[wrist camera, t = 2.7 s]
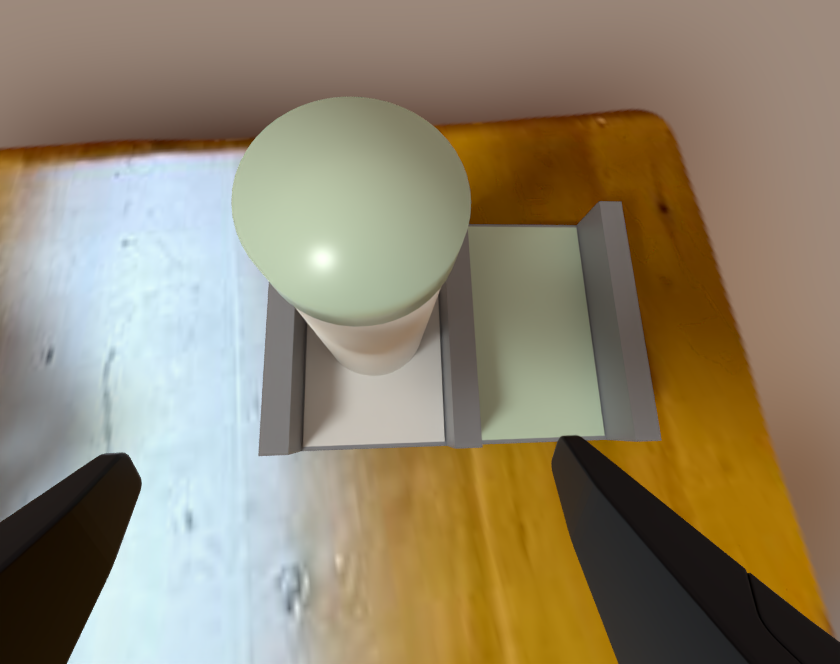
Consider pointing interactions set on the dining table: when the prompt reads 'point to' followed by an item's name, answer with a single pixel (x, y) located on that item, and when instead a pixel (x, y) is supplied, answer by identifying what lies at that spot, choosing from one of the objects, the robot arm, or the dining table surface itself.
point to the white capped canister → (354, 223)
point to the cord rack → (483, 353)
